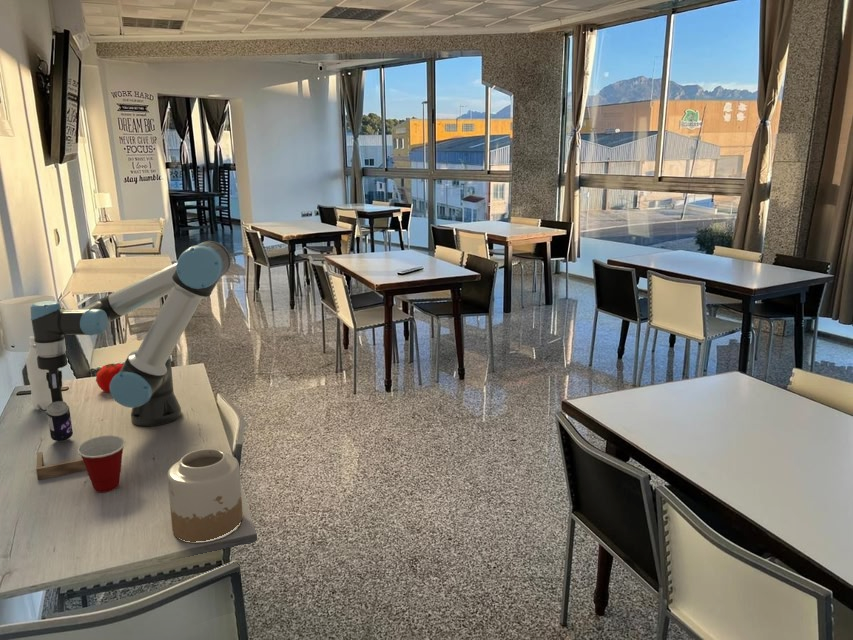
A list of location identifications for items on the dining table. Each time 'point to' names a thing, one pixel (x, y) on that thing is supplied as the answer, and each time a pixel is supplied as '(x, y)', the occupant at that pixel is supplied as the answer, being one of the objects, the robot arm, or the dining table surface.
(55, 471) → the corral
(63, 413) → the beverage can
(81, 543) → the dining table surface
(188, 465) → the vase
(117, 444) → the plastic cup
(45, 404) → the water bottle
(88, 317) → the robot arm
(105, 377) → the tomato
